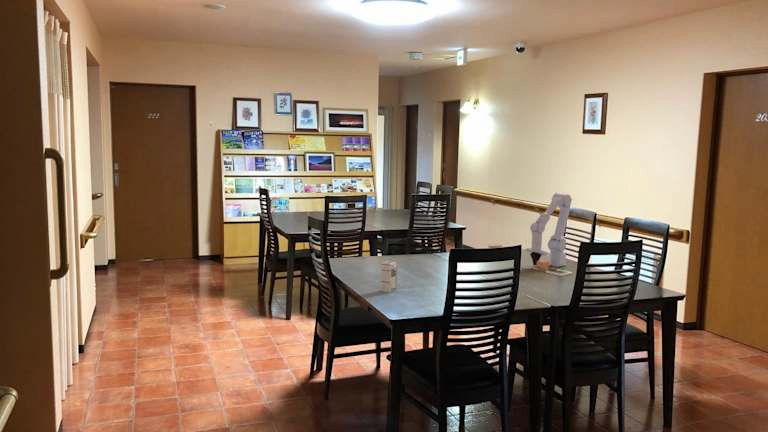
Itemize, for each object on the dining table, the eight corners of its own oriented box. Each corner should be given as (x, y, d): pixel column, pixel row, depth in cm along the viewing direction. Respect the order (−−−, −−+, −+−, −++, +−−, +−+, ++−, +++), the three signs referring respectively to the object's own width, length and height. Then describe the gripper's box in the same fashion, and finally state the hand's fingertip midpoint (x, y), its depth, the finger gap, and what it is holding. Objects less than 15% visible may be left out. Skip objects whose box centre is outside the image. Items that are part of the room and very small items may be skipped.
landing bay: (558, 270, 369) (558, 269, 369) (572, 274, 361) (572, 272, 360) (545, 272, 363) (545, 270, 363) (560, 276, 354) (560, 274, 354)
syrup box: (390, 292, 305) (391, 263, 303) (380, 291, 308) (380, 261, 306) (396, 290, 310) (397, 261, 308) (386, 288, 313) (387, 260, 311)
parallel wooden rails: (541, 267, 377) (542, 264, 377) (556, 270, 368) (556, 268, 368) (532, 268, 372) (532, 266, 372) (547, 272, 364) (547, 269, 363)
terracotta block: (542, 268, 375) (542, 260, 374) (548, 270, 371) (549, 261, 370) (536, 269, 372) (536, 260, 372) (542, 270, 368) (543, 262, 368)
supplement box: (501, 265, 379) (502, 244, 378) (501, 267, 374) (503, 245, 373) (487, 265, 380) (488, 243, 378) (487, 266, 375) (489, 245, 374)
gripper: (522, 241, 378) (521, 263, 380) (541, 245, 366) (540, 268, 368) (530, 240, 382) (529, 262, 384) (549, 244, 370) (548, 266, 372)
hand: (535, 265), depth 376 cm, fingers closed
